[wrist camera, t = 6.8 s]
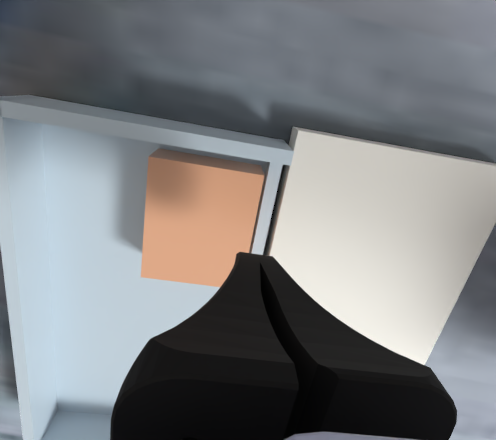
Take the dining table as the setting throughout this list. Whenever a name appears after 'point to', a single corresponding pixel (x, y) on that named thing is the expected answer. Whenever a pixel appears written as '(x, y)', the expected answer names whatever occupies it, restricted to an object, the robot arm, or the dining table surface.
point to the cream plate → (382, 233)
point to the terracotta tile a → (197, 216)
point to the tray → (94, 250)
